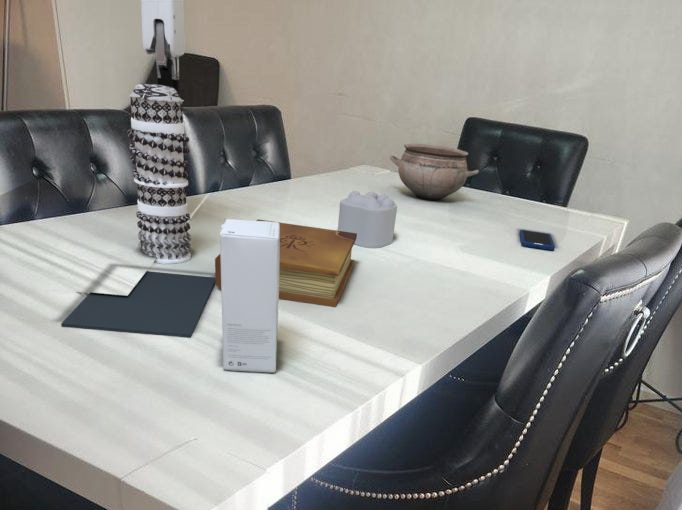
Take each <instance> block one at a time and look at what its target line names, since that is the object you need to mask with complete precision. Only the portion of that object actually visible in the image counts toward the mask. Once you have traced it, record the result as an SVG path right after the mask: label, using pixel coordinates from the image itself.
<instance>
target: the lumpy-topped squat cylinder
mask: <svg viewBox="0 0 682 510" xmlns="http://www.w3.org/2000/svg"><path fill="white" fill-rule="evenodd" d="M397 211H398V205H397V203H396V202H395V201H394V199H392V198H390V197H389V195H388V194H386V193H382V194H380V195H378V193H377V192H375V191H369V192H367V193H366V194H361V193H360V192H359V191H357V190H353V191H351V192H350V193H349V194H348V196H347V197H346V198H343V199H340V202H339V211H338V223H337V231H344V232H351V233H357V239H356V241H355V243H354V245H356V246H359V247H362V248H367V249H379V248H380V249H381V248H384V247H387V246H389V245H391V244H393V242H394V234H395V226H396V221H397V220H396V219H397Z"/></svg>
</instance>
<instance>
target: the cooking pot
mask: <svg viewBox="0 0 682 510" xmlns="http://www.w3.org/2000/svg"><path fill="white" fill-rule="evenodd" d="M403 147H404V148H405V150H404V152H403V153H402V156H401V157H400V158H399V157H397V156H395V155H390V156H389V160H390V161H391V162H392V163H393V164H395V166H397V167H398V171H397V172H398V176H399V179H400V181H401V182H402V183H403V185H404V186H405V187H406V188H407V189H408V190H409V191H410V192H411V193H413V194H414V195H415V196H416V197H417V198H419V199H422V200H427V201H440V200H442V199H444V198H446V197H448V196H451V195H452V194H455V193H457V192H458V191H459V190H460V189H461V188H462V187H463V186H464V185H465V183H466V181H467V178H470V177H472V176H476V175H478V174H479V172H480V169H475V170H468V164H467V163H468V162H467V156H468V155H469V152H468V151H465V150H462V149H458V148H454V147H449V146H444V145H443V146H442V145H437V144H428V143H404V145H403Z"/></svg>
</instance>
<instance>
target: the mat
mask: <svg viewBox="0 0 682 510" xmlns="http://www.w3.org/2000/svg"><path fill="white" fill-rule="evenodd" d="M215 285H216V283H215V277H214V276H205V275H193V274H182V273H181V274H180V273H171V272H162V271H150V270H146V271H145V272H144V274H143V275H142V276H141V277H140V278H139V280H138V281H137V283H135V285H134V287H133V288H131V290H130V291H129V293H128V294H127V295H123V294H113V293H101V292H100V293H99V292H89V293H88V294H87V295H86V296H85V297H84V298H83V299H82V301H81V302H80V303H79V304H78V305H77V306H76V307H75V308H74V309H73V310H72V311H71V312H70V314H69V315H67V316H66V318H64V320H63V321H62V322H61V323H60V325H61V327H63V328H76V329H78V328H79V329H87V330H97V331H98V330H99V331H111V332H121V333H122V332H123V333H132V334H133V333H135V334H146V335H158V336H168V337H169V336H171V337H182V338H191V337H192V335H193V333H194V330H195V329H196V327H197V324H198V322H199V320H200V318H201V315H202V313H203V311H204V309H205V307H206V305H207V302H208V300H209V298H210V296H211V294H212V291H213V290H214V287H215Z"/></svg>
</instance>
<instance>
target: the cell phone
mask: <svg viewBox="0 0 682 510" xmlns="http://www.w3.org/2000/svg"><path fill="white" fill-rule="evenodd" d="M519 238H520V243H521V246H522V247H528V248H535V249H542V250H546V251H548V250H549V251H555V248H556V245H555V243H554V240H553V237H552V235H551V233H549V232H548V233H547V232H542V231H534V230H527V229H520V230H519Z"/></svg>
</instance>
